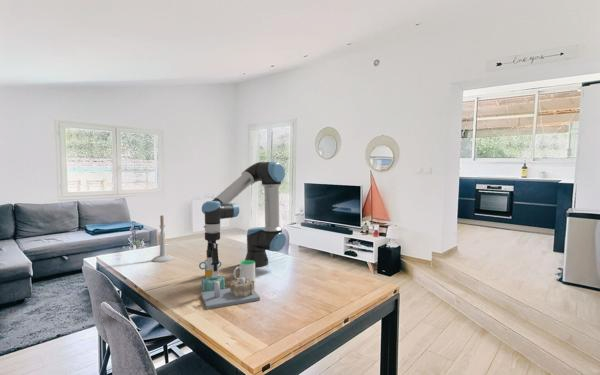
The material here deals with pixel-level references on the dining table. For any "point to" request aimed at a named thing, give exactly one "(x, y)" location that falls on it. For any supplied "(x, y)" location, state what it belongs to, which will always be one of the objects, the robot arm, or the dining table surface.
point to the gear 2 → (242, 288)
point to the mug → (246, 270)
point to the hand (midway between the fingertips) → (212, 273)
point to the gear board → (225, 297)
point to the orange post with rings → (207, 272)
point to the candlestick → (162, 245)
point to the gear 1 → (212, 283)
